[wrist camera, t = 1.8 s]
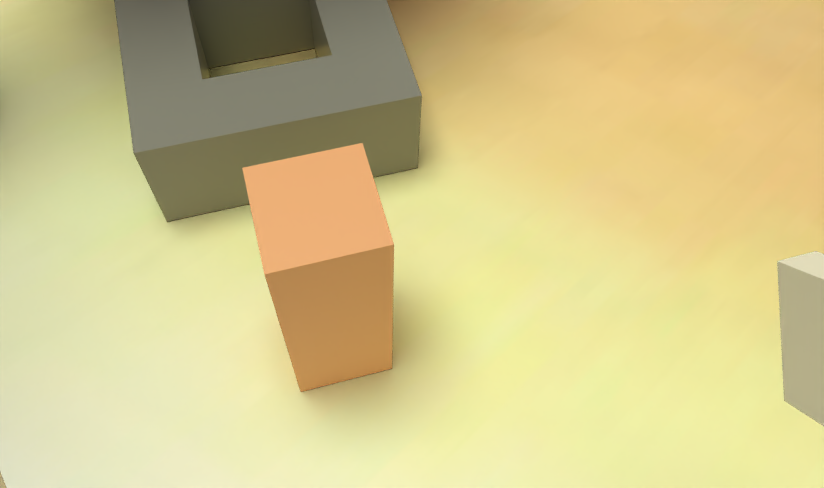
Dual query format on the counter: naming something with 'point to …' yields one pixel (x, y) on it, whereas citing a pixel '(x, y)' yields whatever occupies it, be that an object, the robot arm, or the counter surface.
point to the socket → (260, 91)
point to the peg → (326, 262)
